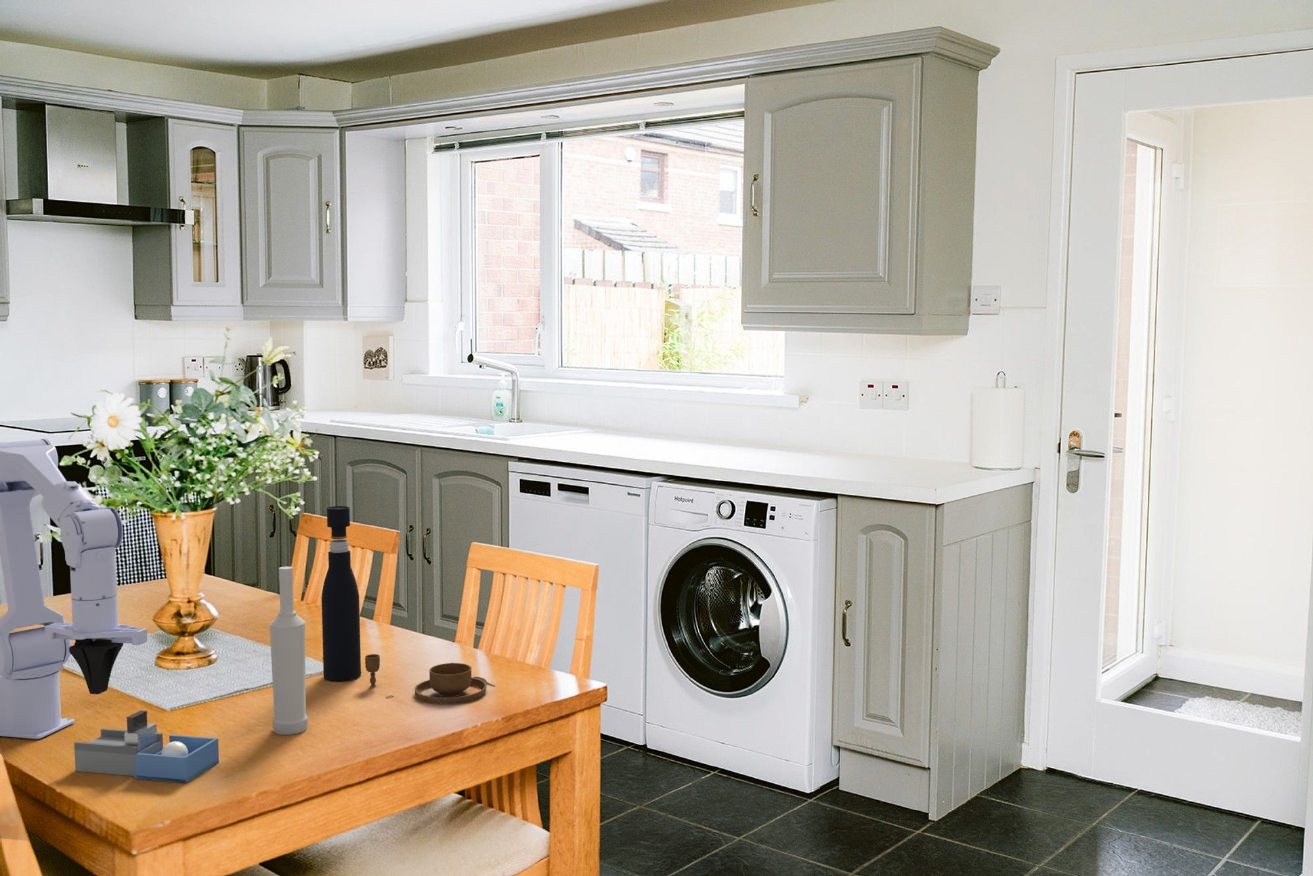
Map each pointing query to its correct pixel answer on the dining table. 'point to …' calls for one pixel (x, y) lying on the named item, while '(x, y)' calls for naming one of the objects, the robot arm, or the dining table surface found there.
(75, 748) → the open gray tray
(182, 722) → the dining table surface
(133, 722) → the grey angular hollow piece
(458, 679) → the place setting
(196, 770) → the open box
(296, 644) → the bottle
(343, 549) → the wine bottle
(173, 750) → the ball
